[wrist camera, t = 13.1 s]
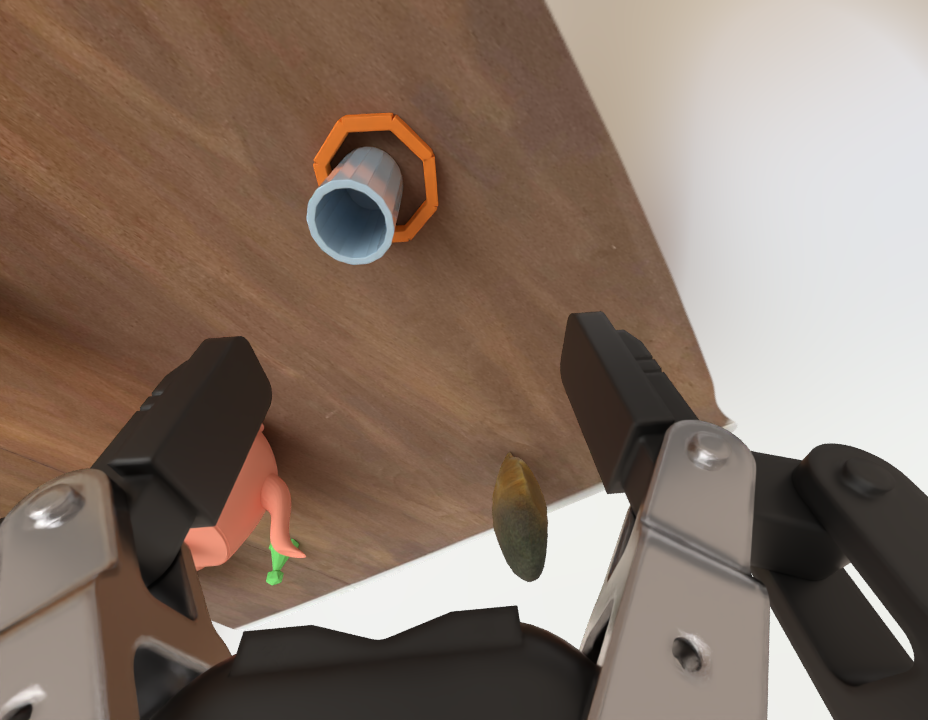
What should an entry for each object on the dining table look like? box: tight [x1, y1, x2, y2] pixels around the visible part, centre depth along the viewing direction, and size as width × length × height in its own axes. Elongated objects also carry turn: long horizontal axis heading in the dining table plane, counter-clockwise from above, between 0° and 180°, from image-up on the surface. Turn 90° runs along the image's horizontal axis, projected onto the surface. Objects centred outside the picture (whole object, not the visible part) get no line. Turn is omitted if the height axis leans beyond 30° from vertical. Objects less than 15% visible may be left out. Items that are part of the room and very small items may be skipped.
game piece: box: [266, 539, 299, 585], centre depth 56 cm, size 4×4×6 cm
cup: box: [307, 146, 403, 265], centre depth 23 cm, size 4×4×9 cm
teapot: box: [184, 423, 306, 571], centre depth 37 cm, size 16×17×14 cm
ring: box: [313, 113, 438, 242], centre depth 26 cm, size 8×8×1 cm
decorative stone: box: [492, 452, 548, 582], centre depth 42 cm, size 10×6×15 cm, turn 176°
